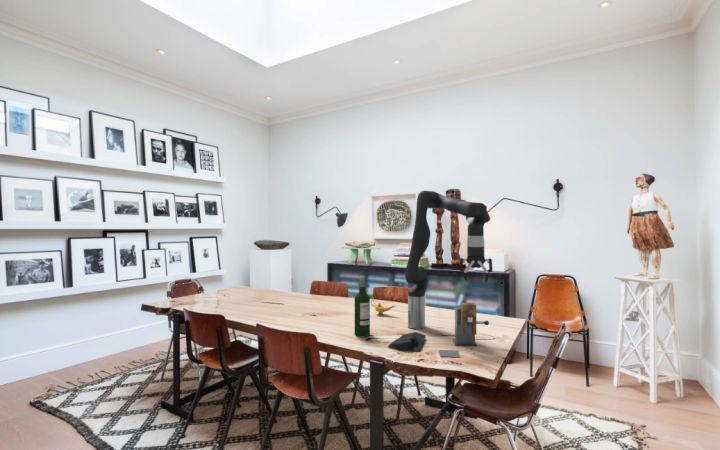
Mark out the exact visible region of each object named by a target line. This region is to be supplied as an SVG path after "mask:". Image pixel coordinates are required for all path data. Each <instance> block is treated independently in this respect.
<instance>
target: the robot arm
mask: <svg viewBox="0 0 720 450" xmlns="http://www.w3.org/2000/svg"><path fill="white" fill-rule="evenodd" d="M415 208H416V210H415V221H414V225H413V226H414V228H413V233H412V239H411V245H410V251H409V256H408V259H407V263H406V268H405V272H404V278H405V282H407V283H408V284H411V285H412V287H411V288H409V289H408V290H407V328H409V329H416V330H417V329H418V330H419V329H424V328H425V327H426V306H425V305H426V292H427V280H428V275H427V269H426V268H425V267H424V266H423V265H422V266H421V265H420V261H421V259H422V257H423V255H424V254H425V252H426V251H427V250H428V248H429V245H430V241H431V229H430V225H429V223H428V219H427V216H428V215H427V212H428V209H445V210H446V211H449V212H451V213H454V214H458V215H461V216H464V217H467V218H470V219H471V218H472V219H473V220H472V222H471V223H469V224H468V225H467V238H466V239H467V240H466V242H467V243H466V246H467V248H466V251H467V255H466V258H463V257H460V264H459V271H460V272H462V273H463V279H464V281H466V282H467V281H468V271H469V269H471V268H472V269H475V268H477V269H482V270H483V271H484V282H488V281H489V273H493V272H494V271H493V259H492V258H490V257H489V258H485V257H486V256H485V237H484V236H485V235H484V234H485V233H484V232H485V231H484V226H485V223H486V219H487V214H488V211H487V206H486V205H485V204H484V203H482V202H474V201H473V202H471V201H467V200H465V199H461V198H455V197H448V196H445V195H442V194H441V193H439V192H436V191H433V190H421V191H419V192H418V195H417V199H416V207H415ZM466 262H467V266H466V267H465V268H464V264H465V263H466ZM486 263H487V264H488V268H489V269H487V268H486V266H485V265H484V264H486Z"/></svg>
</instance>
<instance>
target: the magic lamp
mask: <svg viewBox="0 0 720 450" xmlns="http://www.w3.org/2000/svg"><path fill="white" fill-rule="evenodd" d="M374 298H375V297H374V296H372V295H371V299H372V300H370V305H372V306H373V307H374V311H376V312H377V314H376V315H377V316H380V317H382V316H385V315H386V314H385V312H388V311H390V310H392V309H393V308H394V307H396V305H392V306H388V307H387V306H382V304H381V303H380V302H378V304H375V302H374ZM372 302H373V304H372Z"/></svg>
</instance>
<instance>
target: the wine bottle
mask: <svg viewBox="0 0 720 450" xmlns="http://www.w3.org/2000/svg"><path fill="white" fill-rule="evenodd" d="M358 278H359V284H358V285H359V288H358V293H357V294H355V296H354V335H355V336H356V337H359V338H362V337H363V338H364V337H365V338H366V337H369V336H370V334H371V298H370V295H369V294H368V293H367V292H366V281H365V280H366V277H365V275H359V277H358Z"/></svg>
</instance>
